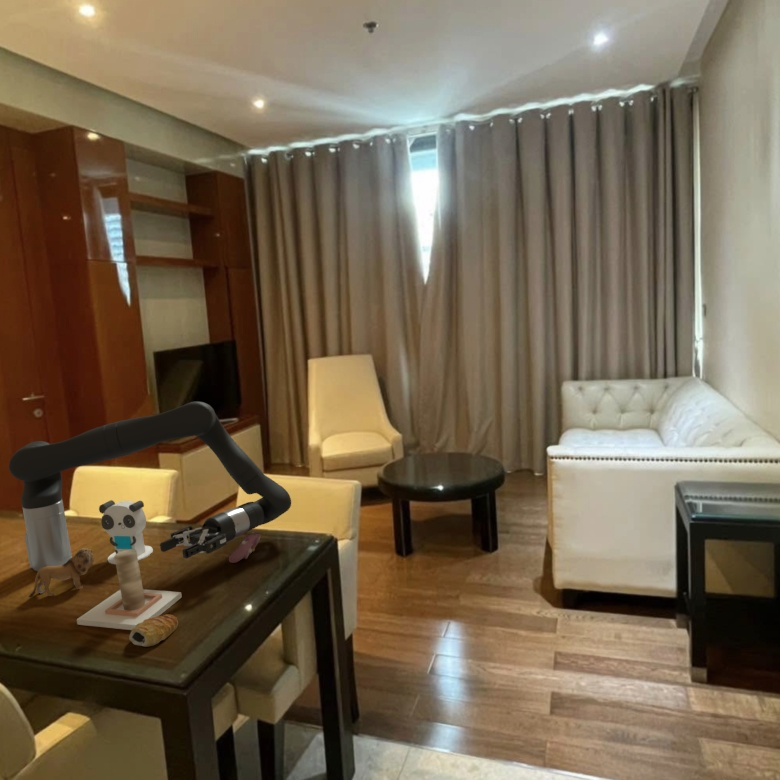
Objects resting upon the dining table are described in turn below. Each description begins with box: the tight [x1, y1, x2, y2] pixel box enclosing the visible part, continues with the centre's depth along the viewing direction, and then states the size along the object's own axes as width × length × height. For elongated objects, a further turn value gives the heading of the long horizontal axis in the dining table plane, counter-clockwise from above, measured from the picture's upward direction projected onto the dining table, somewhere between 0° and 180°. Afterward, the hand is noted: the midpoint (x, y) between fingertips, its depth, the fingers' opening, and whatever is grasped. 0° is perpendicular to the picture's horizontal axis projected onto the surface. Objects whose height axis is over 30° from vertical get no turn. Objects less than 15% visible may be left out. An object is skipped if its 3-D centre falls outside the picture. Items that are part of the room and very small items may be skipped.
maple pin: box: [114, 549, 145, 611], centre depth 130 cm, size 4×4×12 cm
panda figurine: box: [98, 499, 154, 565], centre depth 161 cm, size 12×11×15 cm
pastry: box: [128, 613, 179, 648], centre depth 121 cm, size 9×7×4 cm
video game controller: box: [228, 531, 262, 564], centre depth 156 cm, size 10×5×7 cm, turn 170°
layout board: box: [76, 588, 183, 631], centre depth 131 cm, size 16×14×2 cm
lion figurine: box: [28, 547, 95, 598], centre depth 144 cm, size 15×5×9 cm, turn 121°
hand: (172, 551), depth 139 cm, fingers open, 8 cm apart
